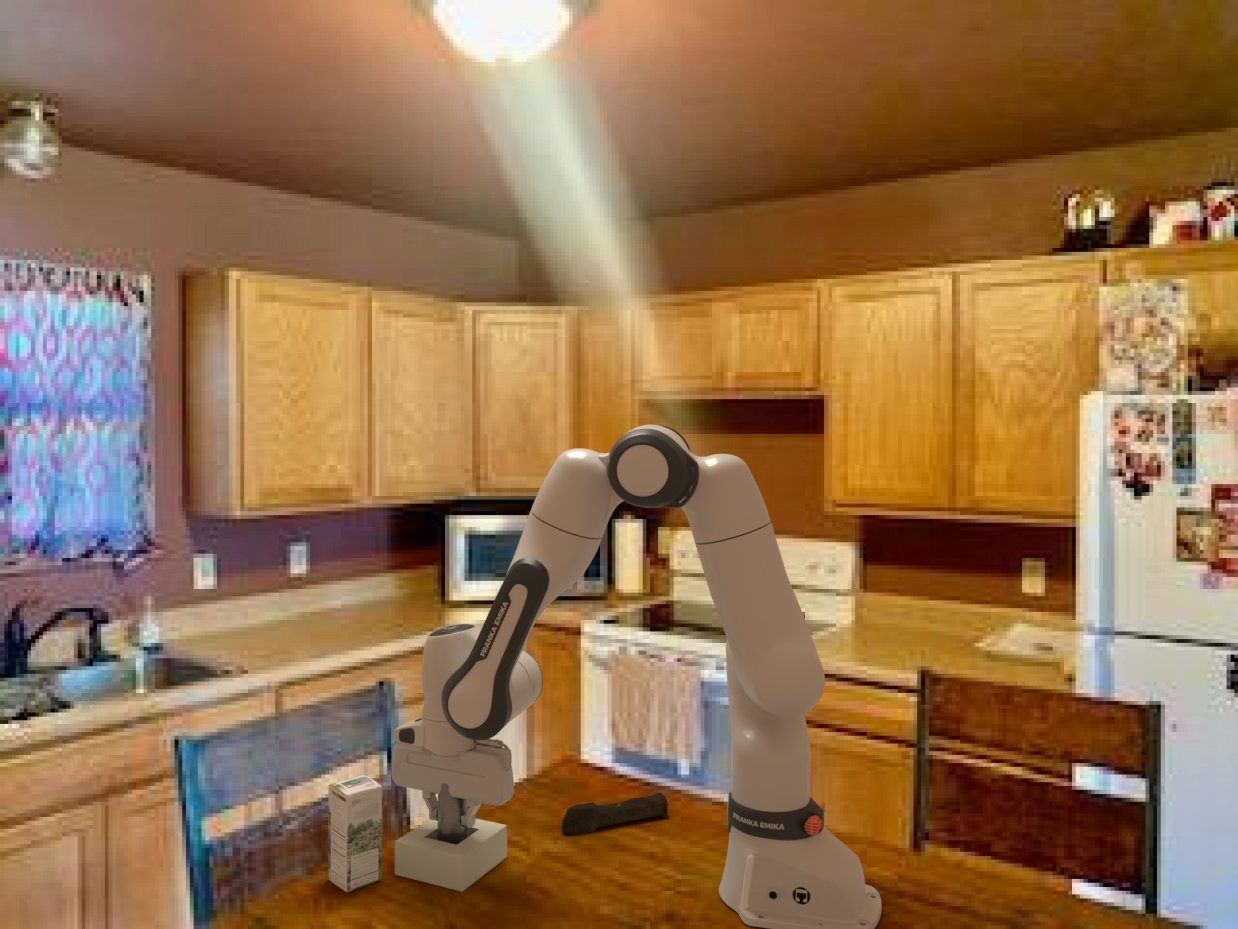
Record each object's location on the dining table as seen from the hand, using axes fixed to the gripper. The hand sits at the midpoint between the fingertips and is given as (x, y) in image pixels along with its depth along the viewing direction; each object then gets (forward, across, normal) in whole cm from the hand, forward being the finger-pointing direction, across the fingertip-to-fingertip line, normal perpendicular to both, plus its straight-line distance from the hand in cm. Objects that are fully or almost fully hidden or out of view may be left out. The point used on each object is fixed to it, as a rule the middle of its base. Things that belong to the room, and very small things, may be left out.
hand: (452, 822), depth 140 cm
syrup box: (+7, +10, +10) cm, 16 cm away
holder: (+7, 0, 0) cm, 7 cm away
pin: (+6, 0, 0) cm, 6 cm away
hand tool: (+7, -16, -24) cm, 30 cm away
